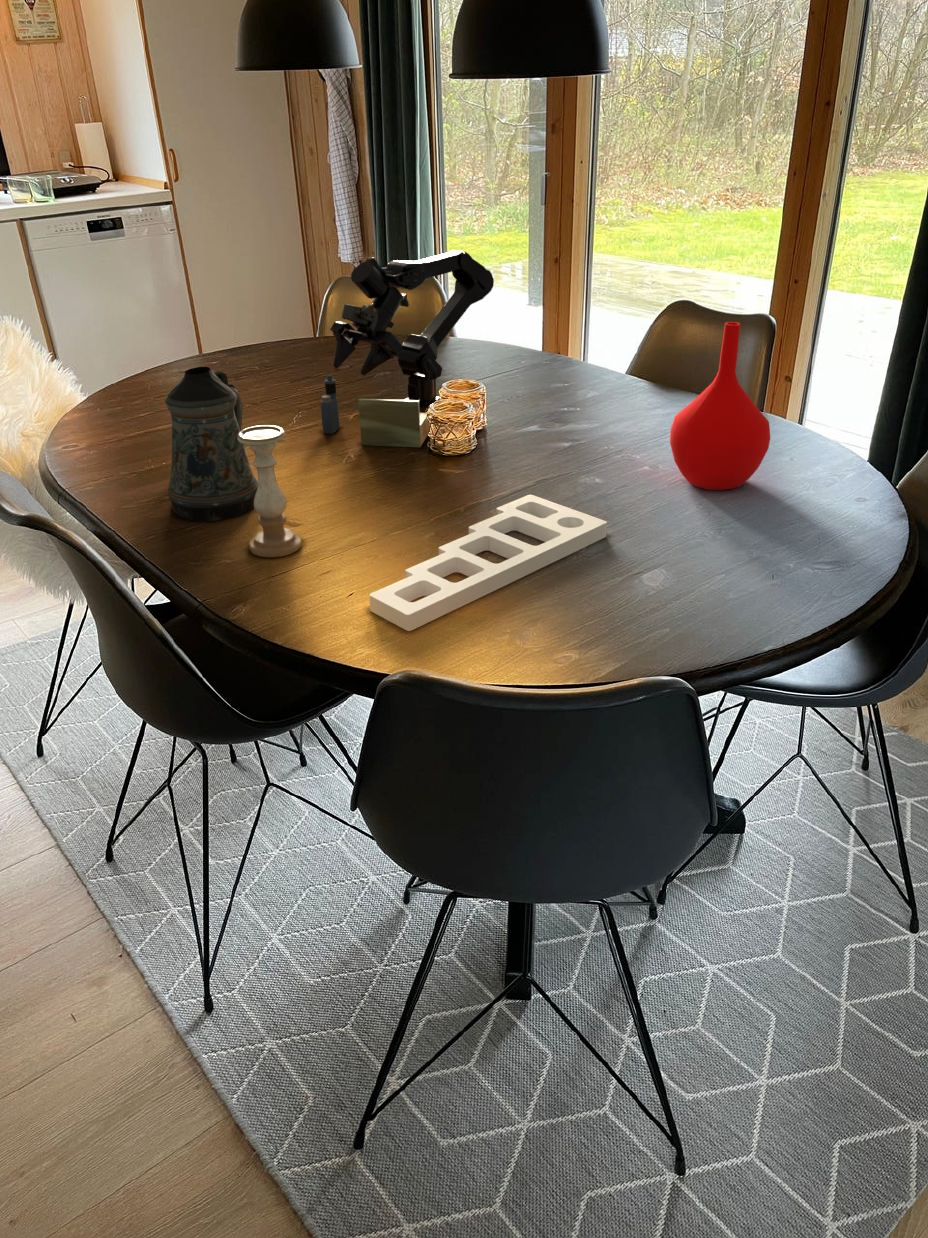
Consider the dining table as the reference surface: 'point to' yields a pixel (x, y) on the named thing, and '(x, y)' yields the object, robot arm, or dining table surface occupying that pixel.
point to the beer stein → (208, 449)
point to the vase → (720, 428)
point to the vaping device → (330, 407)
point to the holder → (525, 515)
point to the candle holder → (268, 495)
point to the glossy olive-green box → (392, 423)
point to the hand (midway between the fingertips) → (348, 370)
